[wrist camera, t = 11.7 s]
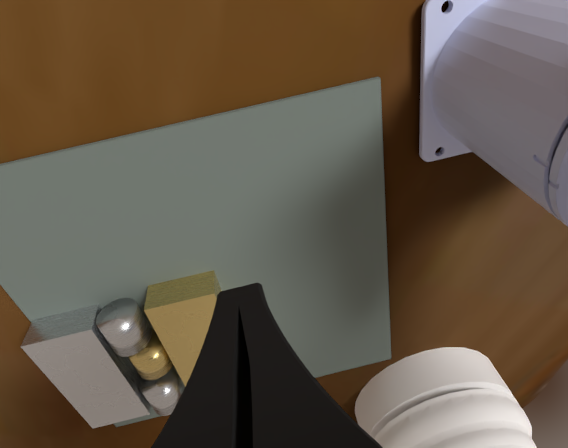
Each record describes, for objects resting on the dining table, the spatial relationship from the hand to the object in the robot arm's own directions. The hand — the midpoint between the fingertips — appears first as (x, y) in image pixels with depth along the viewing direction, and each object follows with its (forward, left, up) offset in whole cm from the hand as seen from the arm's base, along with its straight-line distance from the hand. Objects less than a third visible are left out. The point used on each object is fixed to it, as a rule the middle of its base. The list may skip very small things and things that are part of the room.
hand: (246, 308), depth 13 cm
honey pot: (-11, +26, -10) cm, 30 cm away
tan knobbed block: (+6, +11, -10) cm, 15 cm away
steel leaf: (+11, +11, -10) cm, 18 cm away
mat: (+3, +8, -10) cm, 13 cm away
